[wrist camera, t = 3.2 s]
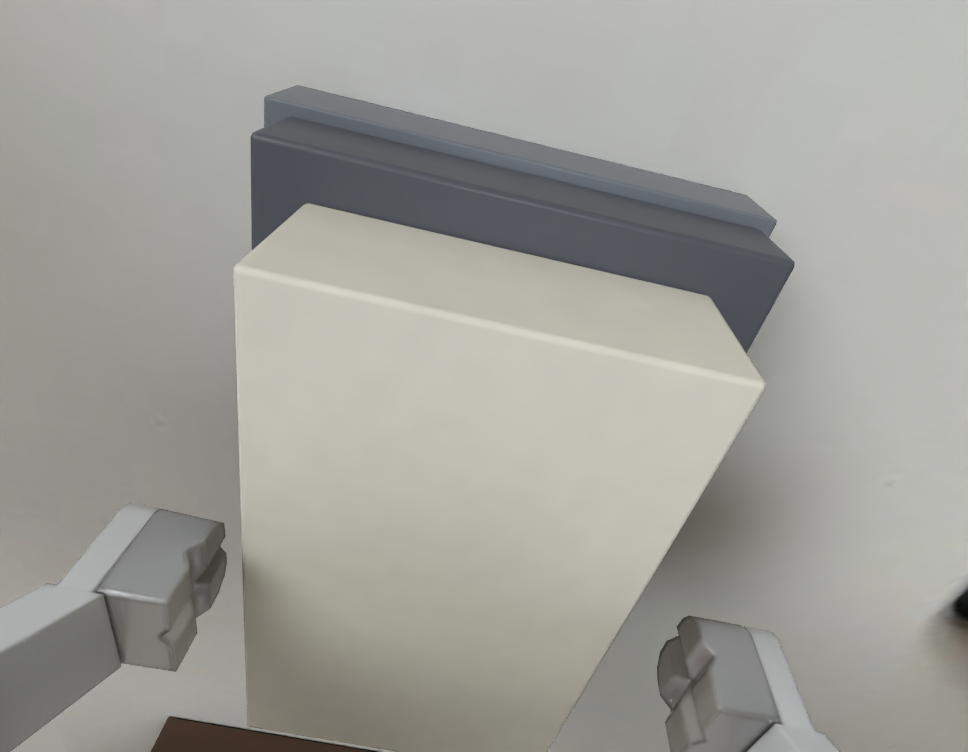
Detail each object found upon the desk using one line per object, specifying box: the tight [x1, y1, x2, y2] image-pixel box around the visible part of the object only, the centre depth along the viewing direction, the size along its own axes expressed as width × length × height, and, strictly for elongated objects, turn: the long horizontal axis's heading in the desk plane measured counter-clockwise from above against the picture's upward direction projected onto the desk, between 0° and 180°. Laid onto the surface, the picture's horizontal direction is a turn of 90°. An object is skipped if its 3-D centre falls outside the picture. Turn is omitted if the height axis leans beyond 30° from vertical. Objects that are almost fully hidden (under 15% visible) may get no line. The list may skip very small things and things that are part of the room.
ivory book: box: [234, 203, 765, 752], centre depth 11 cm, size 11×6×3 cm, turn 168°
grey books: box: [251, 86, 794, 353], centre depth 13 cm, size 13×9×3 cm
